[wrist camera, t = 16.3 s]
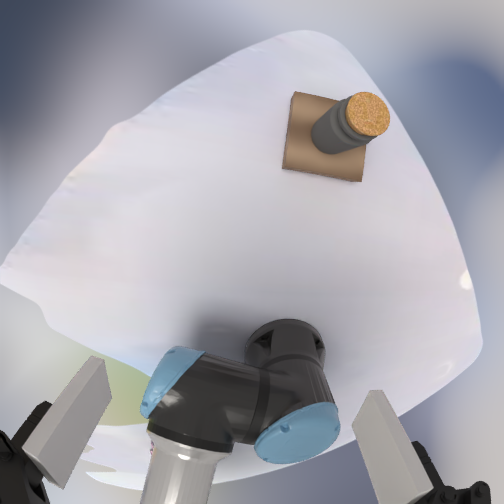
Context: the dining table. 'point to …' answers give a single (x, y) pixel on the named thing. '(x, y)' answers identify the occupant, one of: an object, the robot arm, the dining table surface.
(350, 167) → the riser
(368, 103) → the bottle
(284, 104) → the dining table surface
